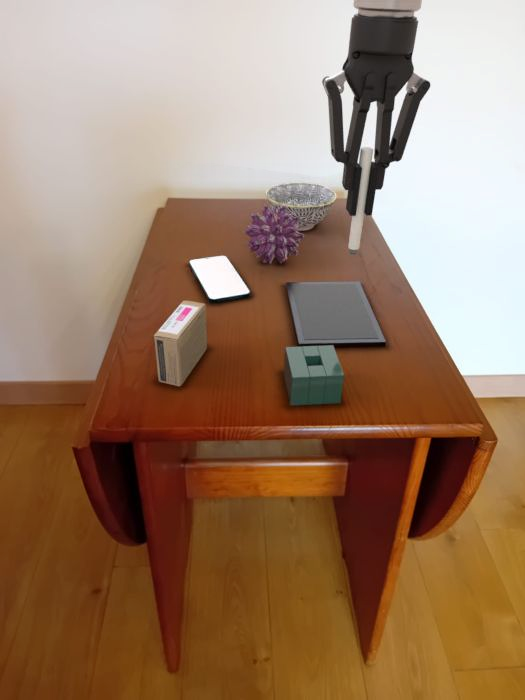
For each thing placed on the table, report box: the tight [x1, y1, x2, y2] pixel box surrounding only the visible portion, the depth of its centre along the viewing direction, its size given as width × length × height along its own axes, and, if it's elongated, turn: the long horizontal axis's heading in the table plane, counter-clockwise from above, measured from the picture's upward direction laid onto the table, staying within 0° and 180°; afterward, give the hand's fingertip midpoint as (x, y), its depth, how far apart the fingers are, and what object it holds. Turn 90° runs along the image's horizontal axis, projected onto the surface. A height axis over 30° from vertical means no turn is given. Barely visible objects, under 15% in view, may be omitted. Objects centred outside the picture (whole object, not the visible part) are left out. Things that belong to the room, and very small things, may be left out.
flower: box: [244, 204, 305, 264], centre depth 107 cm, size 12×12×12 cm
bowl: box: [265, 181, 338, 232], centre depth 123 cm, size 16×16×8 cm
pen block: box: [283, 345, 345, 407], centre depth 76 cm, size 7×7×5 cm
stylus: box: [347, 146, 374, 255], centre depth 74 cm, size 2×2×15 cm
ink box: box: [153, 300, 208, 388], centre depth 79 cm, size 10×4×8 cm, turn 162°
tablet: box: [285, 281, 387, 349], centre depth 93 cm, size 20×14×1 cm
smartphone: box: [188, 255, 251, 304], centre depth 102 cm, size 8×1×16 cm
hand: (358, 211), depth 75 cm, fingers closed on stylus, 2 cm apart
